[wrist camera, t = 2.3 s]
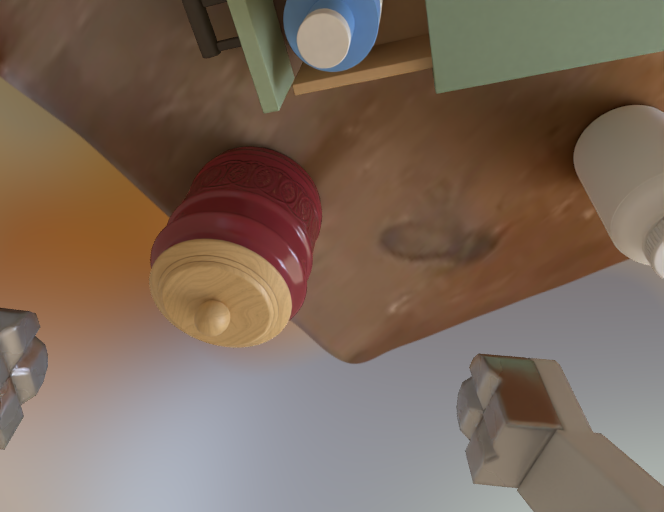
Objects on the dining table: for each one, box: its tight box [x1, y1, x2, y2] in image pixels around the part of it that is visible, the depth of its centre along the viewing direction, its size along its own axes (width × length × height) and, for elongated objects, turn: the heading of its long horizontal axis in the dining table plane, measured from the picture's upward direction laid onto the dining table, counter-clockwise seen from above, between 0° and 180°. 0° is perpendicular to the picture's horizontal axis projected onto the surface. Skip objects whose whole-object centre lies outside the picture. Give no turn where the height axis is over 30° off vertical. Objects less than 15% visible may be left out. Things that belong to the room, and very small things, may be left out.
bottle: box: [283, 0, 383, 72], centre depth 30 cm, size 5×5×14 cm
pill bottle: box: [574, 105, 664, 279], centre depth 37 cm, size 8×8×15 cm
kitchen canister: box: [149, 147, 322, 347], centre depth 44 cm, size 13×13×18 cm
